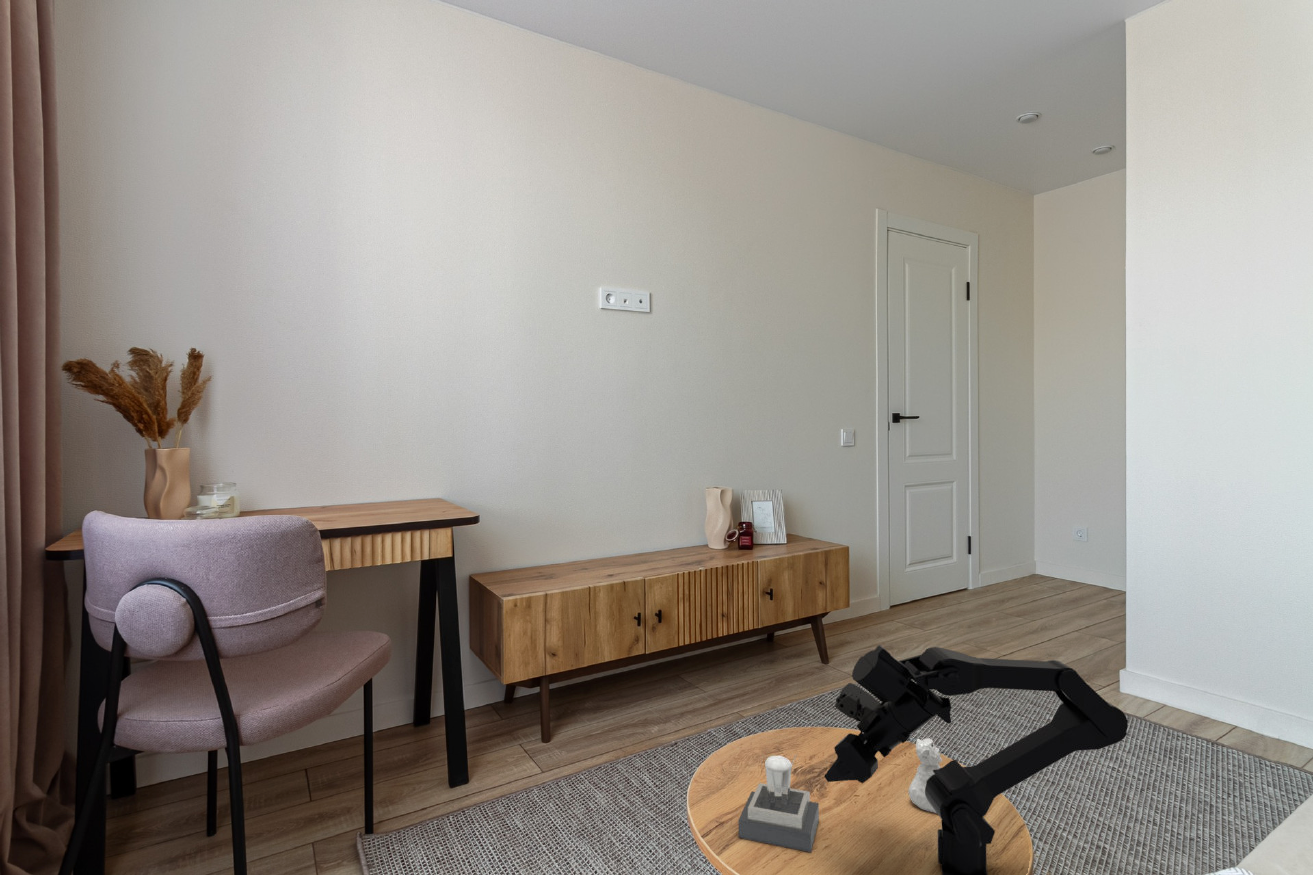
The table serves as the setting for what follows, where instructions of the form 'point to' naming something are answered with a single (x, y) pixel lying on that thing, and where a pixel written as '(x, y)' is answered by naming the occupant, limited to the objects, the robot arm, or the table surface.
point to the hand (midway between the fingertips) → (836, 767)
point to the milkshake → (778, 782)
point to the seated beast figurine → (924, 772)
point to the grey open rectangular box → (780, 820)
